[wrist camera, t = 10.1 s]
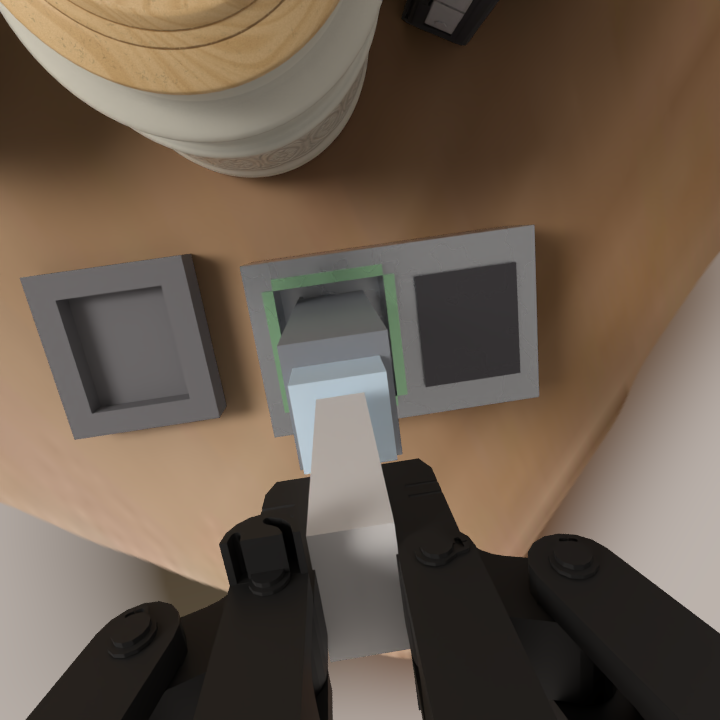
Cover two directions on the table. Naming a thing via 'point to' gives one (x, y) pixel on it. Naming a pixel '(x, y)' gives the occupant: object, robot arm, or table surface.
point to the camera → (448, 17)
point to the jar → (210, 71)
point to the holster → (127, 345)
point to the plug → (338, 367)
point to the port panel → (418, 315)
